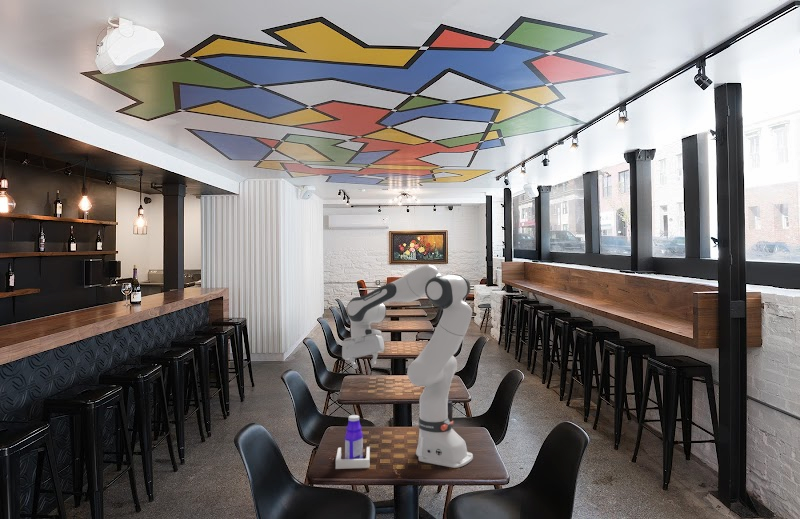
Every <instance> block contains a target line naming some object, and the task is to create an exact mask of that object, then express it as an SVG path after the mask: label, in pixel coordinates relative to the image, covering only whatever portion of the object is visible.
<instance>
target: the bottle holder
mask: <svg viewBox="0 0 800 519" xmlns="http://www.w3.org/2000/svg"><path fill="white" fill-rule="evenodd" d="M370 450H371V446H366V451H365V452H366V454H365V455H366V456H365V458H363V459H345V458H342V447H338V448H337V451H336V452H337V453H336V456H335V470H341V469H343V470H345V469H346V470H347V469H370V466H371V465H370V460H371V459H370V458H371V456H370V455H371V451H370Z"/></svg>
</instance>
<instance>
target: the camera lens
mask: <svg viewBox="0 0 800 519" xmlns="http://www.w3.org/2000/svg"><path fill="white" fill-rule="evenodd" d="M453 405H454V404H453V401H452V399H451V398H449V397H448V418H449V421H450V422H452V421H453V410H454V409H453V408H454V406H453ZM451 426H452V428H453V426H454V424H452V425H451Z"/></svg>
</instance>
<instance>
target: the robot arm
mask: <svg viewBox="0 0 800 519" xmlns="http://www.w3.org/2000/svg"><path fill="white" fill-rule="evenodd" d="M470 292H471V284H470V281H469V280H468V278H466V277H465V276H463V275H462V274H461V275H460V274H453V273H452V274H451V273H447V274H441V272H440V271H439V269H438V268H437V266H435V265H432V264H425V265H422V266H420V267H417V268H415V269H413V270H411V271H410V272H408V273H407V274H405V275H403V276H402V277H400V278H398V279H396V280H393V281H391V282H389V283H387V284H385V285H382V286H380V287H378V288H377V289H374V290H372V291H371V292H369V293H367V294H366V293H365V294H364V295H363V296H355V297H352V299H350V301H349V302H348V303H347V305H346V313H347V316H348V318H349V321H350V336H351V337H347V338H344V339H343V341H342V343H341V346H342V347H341V355H342V356H341V358H342V359H343V360H345V361H349V362H350V363H351V366H352V369H354V370H356V369H359V365H358V363H356V359H357V358H362V357H365V356H369V355H372V359H371V360H370V363H371V366H373V365H376V364H377V359H378V356H379V353H383V352H384V351H385V348H386V347H385V342H384V338H383V336H382V330H379V329H375V328H371V324H377V323H381V322H383V321H384V319H385V318H386V315H387V308H386V305H385V304H386V303H391V302H394V303H396V302H399V303H411V302H415V301H417V300H420V299H421V298H423V297H425V296H426V298H427V299H428V300H429V301H430V302H431V303H432V304H434V306H436V308H438V309H439V310H442V311H443V312H442V314H441V317H440V319H439V321H438V324H437V325H436V327H435V329H434V332H433V334H432V336H431V338H430V340H429V341H428V343H427V344H426V345H425V346H424V348H423V349H422V350H421V352H420V353H419V355H418V356H417V357H416V358H415V359H414V360H413V361H412V362H411V363H410V364H409V365H408V367H407V378H408V379H409V381H410V383H411V384H412V385H414V386H415V387H424V389H423V391H422V393H421V394H420V397H419V417H418V431H419V434H418V440H417V441H418V442H417V446H416V447H417V448H416V451H415V455H416V457H418V461H419V462H422V463H426V464H432V465H437V466H443V467H447V468H454V469H456V468H461V467H463V466H466V465H467V464H469V463H470V462H471V461H472V460H473V459H474V455H473V453H472V452H469V451H468V449H467V448H468V447H467V444H466V441H465V440H464V439H463V438H462V437H461V436H460V435H459V434H458V433H457V432H456V431H455V429H454V428H453V427H452V426H451V425H452V424H453V425H454V420H452V422H450V421H449V418H448V398H449V393H450V390H451V389H450V388H451V384H452V381H453V378H454V376H455V374H456V372H457V370H458V361H457V359H456V357H455V356H454V355H456V353H457V352H458V350H459V349H460V347H461V344H462V343H463V340H464V339H465V335H466V334H467V331H468V329H469V326H470V323H471V320H472V316H473V309H472V307H471V306H470V305H469V304H468V303H467V302H466V301H464V300H465V299H466V298H468V296H469V295H470Z"/></svg>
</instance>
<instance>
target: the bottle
mask: <svg viewBox="0 0 800 519" xmlns="http://www.w3.org/2000/svg"><path fill="white" fill-rule="evenodd" d="M360 422H361V421H360V416H359V415H357V414H351V415H349V416H348V423H347V425H346V427H345V429H346V433H345V436H344V459H364V447H363V446H364V445H363V444H364V440H363V438H364V435H363V431H362V425H361V423H360Z"/></svg>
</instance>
